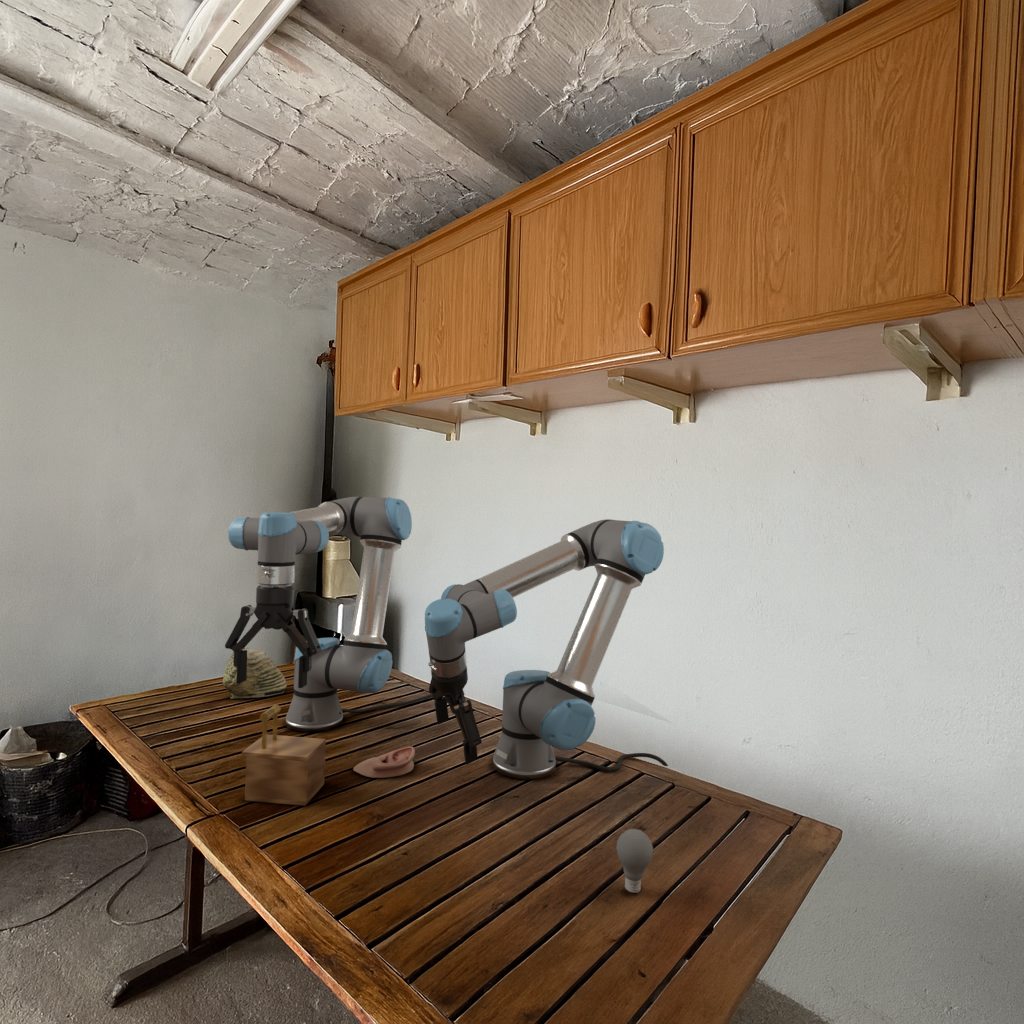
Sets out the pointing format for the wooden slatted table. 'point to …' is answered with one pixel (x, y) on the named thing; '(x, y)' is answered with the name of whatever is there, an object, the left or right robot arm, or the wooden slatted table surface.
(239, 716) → the wooden slatted table surface
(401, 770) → the anatomical model
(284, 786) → the chest
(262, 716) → the lid
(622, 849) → the light bulb
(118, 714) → the wooden slatted table surface
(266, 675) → the fossil
